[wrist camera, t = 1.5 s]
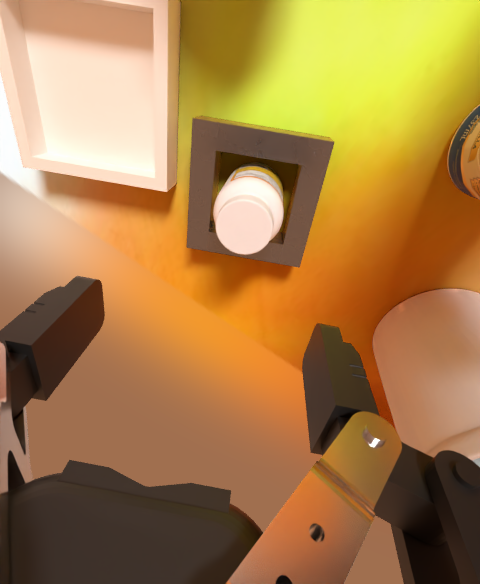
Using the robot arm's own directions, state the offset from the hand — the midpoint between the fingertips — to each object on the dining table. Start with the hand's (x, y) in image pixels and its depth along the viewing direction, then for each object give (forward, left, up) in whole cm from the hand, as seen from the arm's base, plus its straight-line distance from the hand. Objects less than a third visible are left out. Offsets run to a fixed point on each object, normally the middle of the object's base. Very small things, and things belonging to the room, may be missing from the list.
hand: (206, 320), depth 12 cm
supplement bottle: (0, +1, -21) cm, 21 cm away
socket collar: (0, +1, -21) cm, 21 cm away
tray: (+14, -5, -21) cm, 25 cm away
